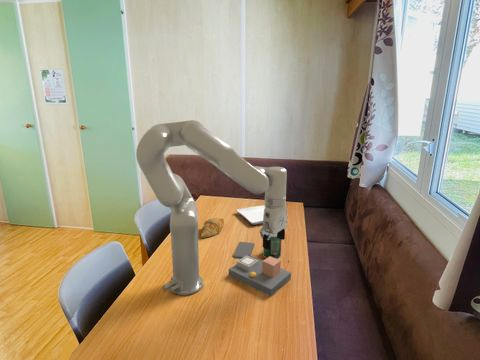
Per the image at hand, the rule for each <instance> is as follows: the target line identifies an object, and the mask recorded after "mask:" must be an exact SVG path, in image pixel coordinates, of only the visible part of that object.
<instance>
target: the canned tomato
mask: <svg viewBox="0 0 480 360" xmlns="http://www.w3.org/2000/svg"><path fill="white" fill-rule="evenodd" d="M268 231H269V230H268ZM268 234H269V233H266V235H267V236H268ZM270 239H271V249H270V250H268V249H266V248H263V257H264V258H265V259H267V258H268V257H270V256H271V257H273V258H276V259H278V260H279V259H280V258H281V256H282V254H281V253H282V239H279V238H277V233H276V234H272V235H271V237H270Z"/></svg>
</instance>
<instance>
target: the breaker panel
mask: <svg viewBox="0 0 480 360" xmlns="http://www.w3.org/2000/svg"><path fill="white" fill-rule="evenodd" d="M246 257H248V258H250V259H252V260H255V262H254V263H252V264H251V265H249V266H248V265H246V264H244V263H242V262H241V261H242V260H243V259H245V258H246ZM263 261H264V259H263V260H262V259H260V258H257V257H255V256H253V255H252V254H251V255H250V256H247V255H246V256H245V257H243V258H239V259H238V260H237V261H236V264H234V265H233V266H231V267H229V268H228V276H229V277H231V278H232V279H234V280H237V281H238V282H240V283H242V284H245V285H247V286H249V287H250V288H251V289H252V288H253V289H255V290H257V291H259V292H261V293H263V294H265V295H267V296H269V297H272V296H273V295H274V294H275V293H276V292H278V291H279V290H281V289H282V288H283V287H284V286H285V285H286V284H287V283H288V282H290V281H291V278H292V272H290V271H288V270H287V269H283V268H282V267H280V272H279V273H278V274H277V275H276V276H274V277H271V276H268V275H266V274H264V273H262V264H263Z"/></svg>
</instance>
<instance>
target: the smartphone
mask: <svg viewBox="0 0 480 360" xmlns="http://www.w3.org/2000/svg"><path fill="white" fill-rule="evenodd" d="M255 244H256V243H254V242H247V241H239V242H238V244H237V245H236V249H235V251H234V252H233V254H232V257H233V258H235V259H241V258H243V257H245V256H246V255H247V256H250V255H251V256H252V253H253V250H254V248H255Z"/></svg>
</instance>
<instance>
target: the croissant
mask: <svg viewBox="0 0 480 360" xmlns="http://www.w3.org/2000/svg"><path fill="white" fill-rule="evenodd" d="M224 223H225V221H224V218H215V217H213V218H209V219H207V220H205V221H204V223H203V226H202V229H201V233H200V237H201V238H203V239H204V238H210V237H213V236H216V235H219V234H220V232H221V231H222V230H223V227H224Z"/></svg>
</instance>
